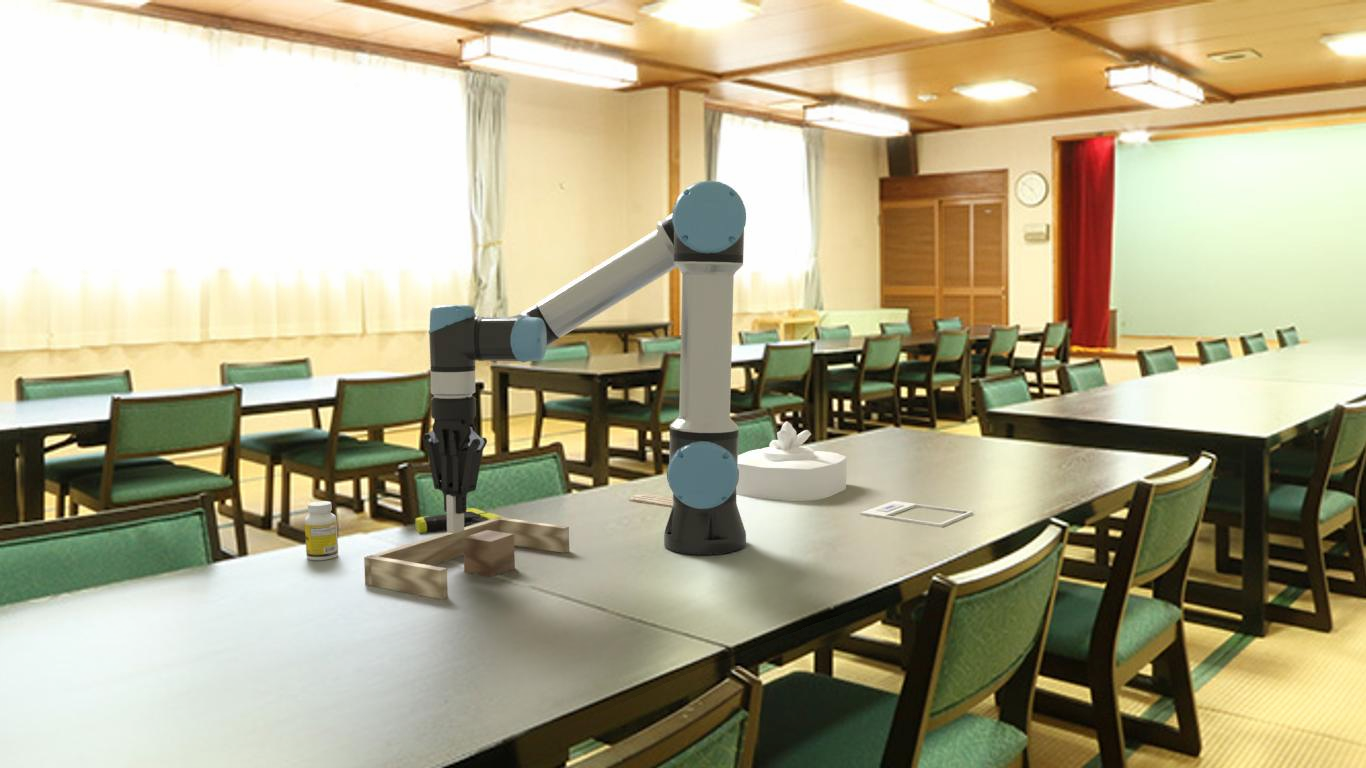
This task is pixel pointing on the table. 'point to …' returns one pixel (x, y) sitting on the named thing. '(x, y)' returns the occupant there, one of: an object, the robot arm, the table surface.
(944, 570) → the table surface
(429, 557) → the bay
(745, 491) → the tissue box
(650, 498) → the wooden plank
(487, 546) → the cube
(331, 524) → the supplement bottle
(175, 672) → the table surface
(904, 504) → the photo frame
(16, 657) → the table surface
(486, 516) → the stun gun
